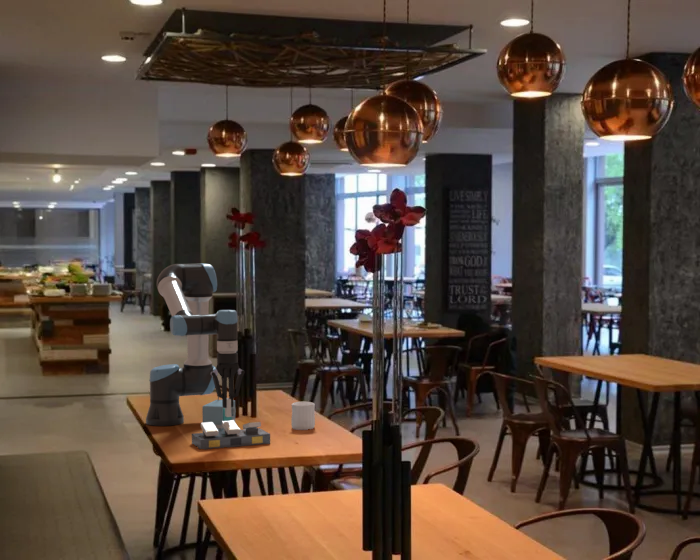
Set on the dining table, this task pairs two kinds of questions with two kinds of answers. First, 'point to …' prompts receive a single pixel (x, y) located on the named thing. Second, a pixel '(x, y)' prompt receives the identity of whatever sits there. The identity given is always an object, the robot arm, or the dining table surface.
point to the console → (231, 439)
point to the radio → (217, 413)
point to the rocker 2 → (230, 427)
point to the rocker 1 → (209, 429)
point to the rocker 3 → (251, 425)
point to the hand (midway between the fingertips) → (228, 416)
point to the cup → (303, 415)
